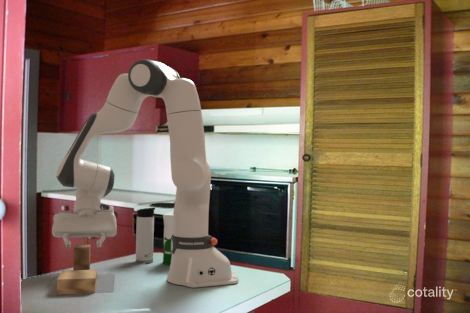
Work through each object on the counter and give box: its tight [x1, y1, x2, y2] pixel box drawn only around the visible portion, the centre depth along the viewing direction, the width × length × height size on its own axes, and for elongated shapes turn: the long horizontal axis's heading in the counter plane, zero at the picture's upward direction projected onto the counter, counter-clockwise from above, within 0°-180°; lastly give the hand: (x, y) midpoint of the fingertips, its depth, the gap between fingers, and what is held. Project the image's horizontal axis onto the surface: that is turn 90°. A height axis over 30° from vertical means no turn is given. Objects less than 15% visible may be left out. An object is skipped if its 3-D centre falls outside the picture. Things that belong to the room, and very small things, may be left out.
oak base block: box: [56, 269, 98, 295], centre depth 133 cm, size 10×10×4 cm
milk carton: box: [162, 211, 174, 265], centre depth 170 cm, size 9×9×20 cm
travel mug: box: [135, 206, 156, 264], centre depth 171 cm, size 6×7×20 cm
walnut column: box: [73, 243, 92, 270], centre depth 144 cm, size 4×4×10 cm
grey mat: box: [44, 273, 116, 296], centre depth 138 cm, size 18×20×1 cm
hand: (83, 246), depth 148 cm, fingers open, 8 cm apart
